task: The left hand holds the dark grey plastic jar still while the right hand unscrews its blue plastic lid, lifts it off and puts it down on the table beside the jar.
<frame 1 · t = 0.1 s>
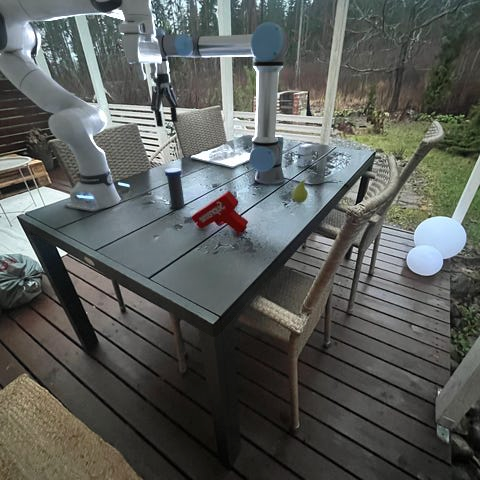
left hand: (148, 79, 93), 48 cm above the table, tool pointing down, fingers open, 8 cm apart
right hand: (167, 124, 132), 28 cm above the table, tool pointing down, fingers open, 13 cm apart
lid: (173, 170, 110), point 16 cm above the table, screwed on, not yet turned
toy gun: (220, 229, 102), on the table
ink box: (303, 165, 167), on the table
relief map: (224, 158, 181), on the table
jar: (178, 206, 119), on the table
fruit: (299, 202, 122), on the table
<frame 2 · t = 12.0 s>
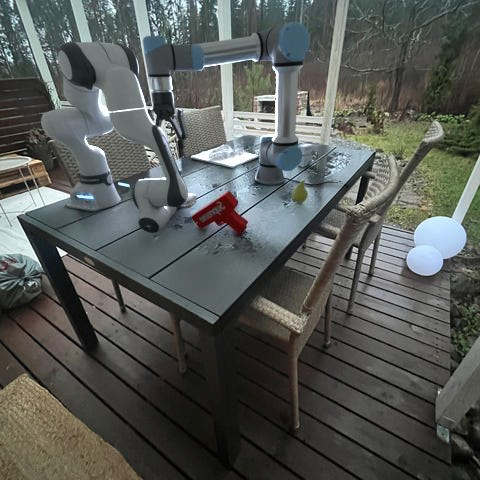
left hand: (176, 191, 116), 6 cm above the table, tool horizontal, fingers closed on jar, 5 cm apart
right hand: (171, 156, 107), 22 cm above the table, tool pointing down, fingers open, 8 cm apart
jar: (178, 206, 119), on the table, touching left hand
everything else where it was.
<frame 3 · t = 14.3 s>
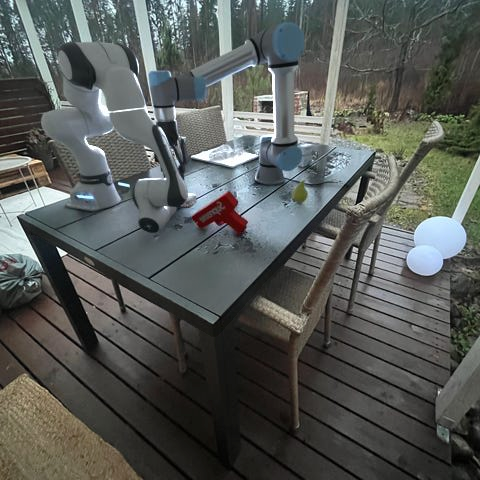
left hand: (176, 191, 116), 6 cm above the table, tool horizontal, fingers closed on jar, 5 cm apart
right hand: (174, 179, 112), 12 cm above the table, tool pointing down, fingers closed on lid, 6 cm apart
lid: (173, 170, 110), point 16 cm above the table, screwed on, not yet turned, touching right hand
jar: (178, 206, 119), on the table, touching left hand
everything else where it was.
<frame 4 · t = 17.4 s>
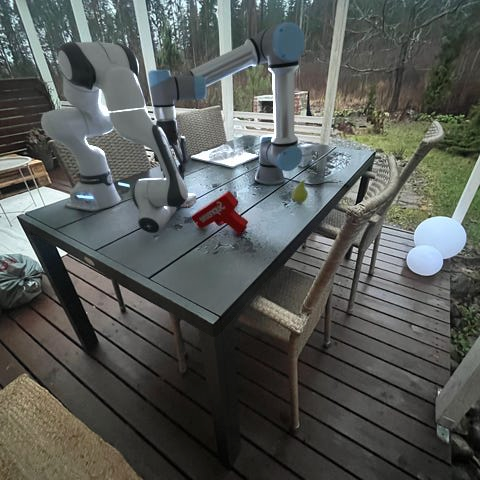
left hand: (176, 191, 116), 6 cm above the table, tool horizontal, fingers closed on jar, 5 cm apart
right hand: (174, 179, 112), 12 cm above the table, tool pointing down, fingers closed on lid, 6 cm apart
lid: (173, 170, 110), point 16 cm above the table, turned 85° so far, risen 0.2 cm, still on its thread, touching right hand
jar: (178, 206, 119), on the table, touching left hand
everything else where it was.
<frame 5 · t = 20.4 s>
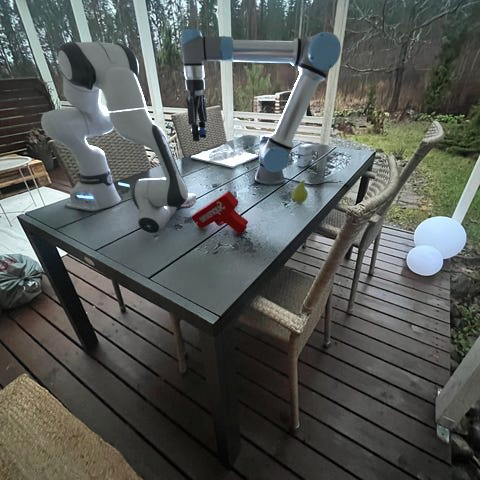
left hand: (176, 191, 116), 6 cm above the table, tool horizontal, fingers closed on jar, 5 cm apart
right hand: (199, 139, 120), 24 cm above the table, tool pointing down, fingers closed on lid, 6 cm apart
lid: (198, 129, 118), point 28 cm above the table, off its thread, touching right hand
jar: (178, 206, 119), on the table, touching left hand
everything else where it was.
when the right hand's fingers open (0 cm above the table, at t = 23.5 s): lid drops 2 cm, point 2 cm above the table.
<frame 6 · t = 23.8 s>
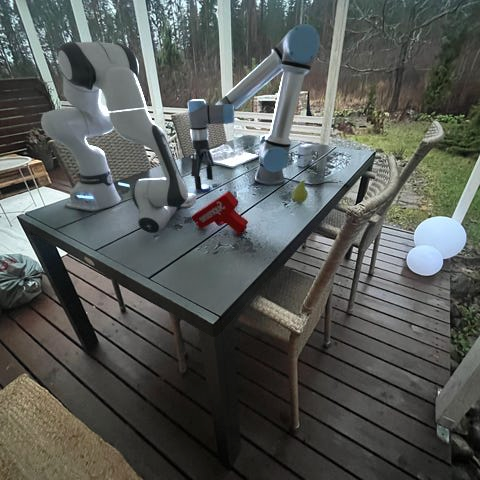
left hand: (176, 191, 116), 6 cm above the table, tool horizontal, fingers closed on jar, 5 cm apart
right hand: (204, 184, 132), 3 cm above the table, tool pointing down, fingers open, 13 cm apart
lid: (203, 187, 133), point 2 cm above the table, off its thread
jar: (178, 206, 119), on the table, touching left hand
everything else where it was.
when the left hand's fingers open (6 cm above the table, at t = 24.3 s): jar stays where it is, on the table.
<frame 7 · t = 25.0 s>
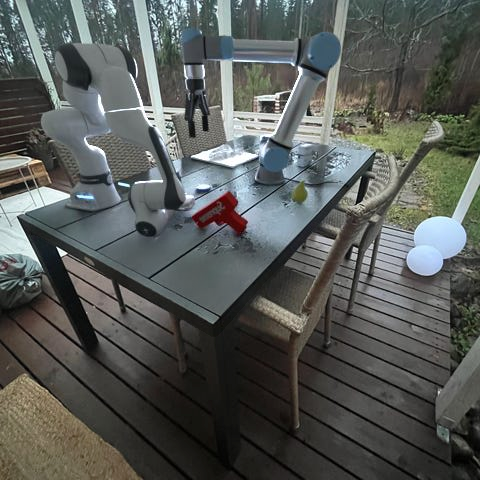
left hand: (175, 194, 114), 6 cm above the table, tool horizontal, fingers open, 8 cm apart
right hand: (199, 134, 119), 26 cm above the table, tool pointing down, fingers open, 13 cm apart
jar: (178, 206, 119), on the table
everything else where it was.
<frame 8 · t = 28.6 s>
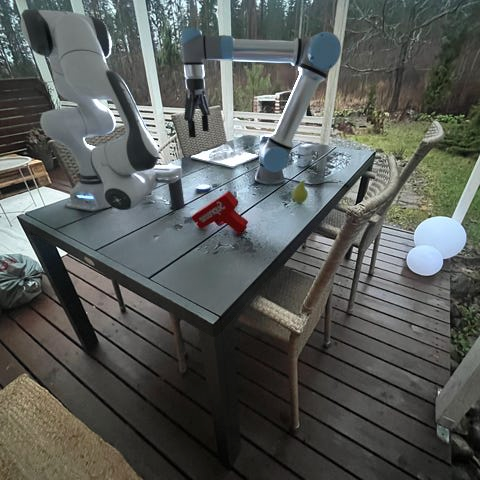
left hand: (159, 166, 97), 22 cm above the table, tool horizontal, fingers open, 8 cm apart
right hand: (199, 134, 119), 26 cm above the table, tool pointing down, fingers open, 13 cm apart
nothing on the table moved.
at the end: lid came off its thread; lid point 1.6 cm above the table; the left hand is holding nothing; the right hand is holding nothing; jar tilted 0°; jar moved 0.0 cm from its start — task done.
